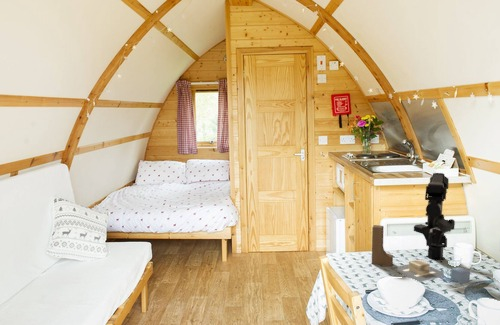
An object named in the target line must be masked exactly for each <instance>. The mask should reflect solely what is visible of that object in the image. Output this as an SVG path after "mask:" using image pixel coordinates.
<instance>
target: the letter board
mask: <svg viewBox="0 0 500 325" xmlns="http://www.w3.org/2000/svg"><path fill="white" fill-rule="evenodd" d="M389 269H390V270H392V271H394V272H396V273H399V274H401V275H403V276H405V277H408V278H410V279H411V278H412V280H413V279H415V280H414V281H416V280H417V281H416V282H418V281H419V282H418V283H420V282H424V281H429V280H433V279H438V278H443V277H445V276H444V275H443V272H444V271H442V270H439V269H437V268H435V267H432V266H430V267H429V273H425V274H420V275H418V274H416V273H414V272H412V271H409V263H408V264H404V265H398V266H394V267H392V266H391V267H389Z"/></svg>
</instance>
